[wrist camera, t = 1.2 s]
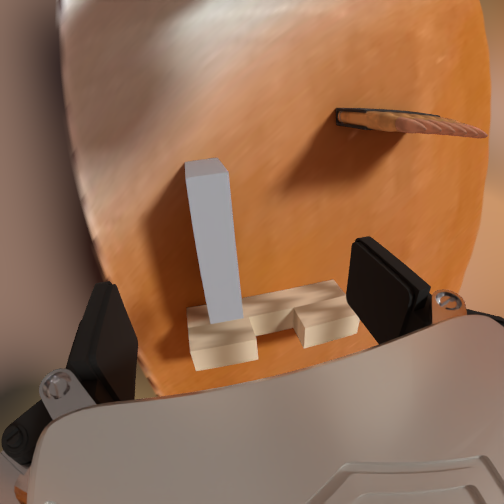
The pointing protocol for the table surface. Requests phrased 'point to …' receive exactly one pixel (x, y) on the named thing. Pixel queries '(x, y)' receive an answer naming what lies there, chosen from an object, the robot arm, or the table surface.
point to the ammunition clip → (404, 122)
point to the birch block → (271, 323)
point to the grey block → (214, 237)
